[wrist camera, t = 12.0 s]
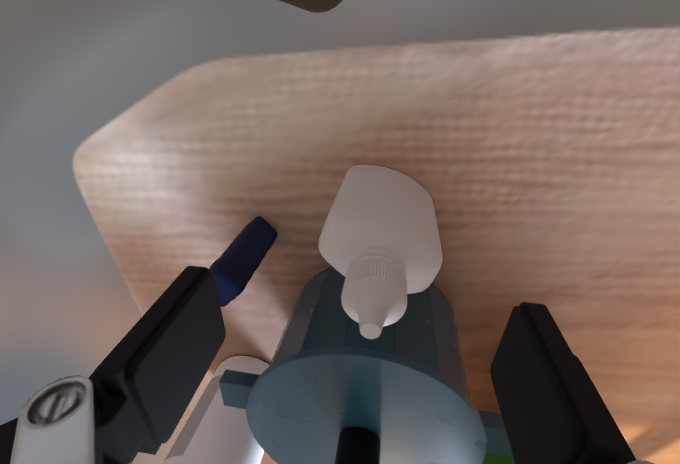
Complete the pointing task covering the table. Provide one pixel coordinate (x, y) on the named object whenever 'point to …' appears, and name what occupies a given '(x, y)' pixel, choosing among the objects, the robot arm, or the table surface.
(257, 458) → the white plastic bottle
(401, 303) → the eye dropper bottle
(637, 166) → the table surface
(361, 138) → the table surface
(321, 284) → the pot
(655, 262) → the table surface
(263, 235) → the eraser
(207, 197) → the table surface
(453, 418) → the pot lid
